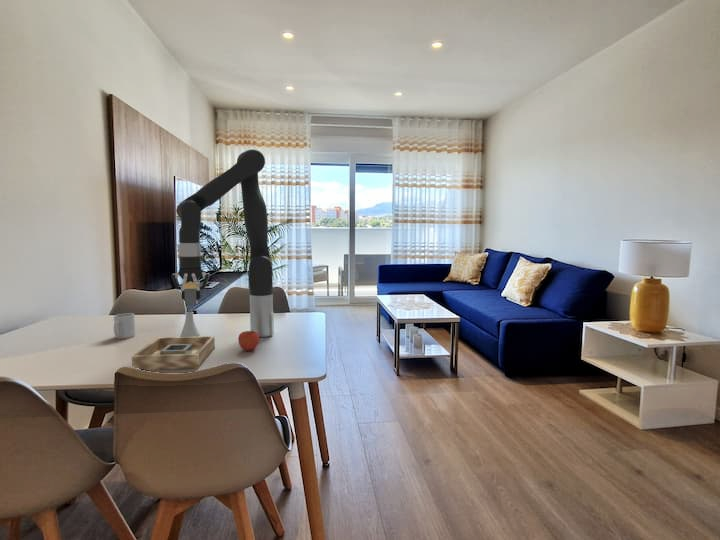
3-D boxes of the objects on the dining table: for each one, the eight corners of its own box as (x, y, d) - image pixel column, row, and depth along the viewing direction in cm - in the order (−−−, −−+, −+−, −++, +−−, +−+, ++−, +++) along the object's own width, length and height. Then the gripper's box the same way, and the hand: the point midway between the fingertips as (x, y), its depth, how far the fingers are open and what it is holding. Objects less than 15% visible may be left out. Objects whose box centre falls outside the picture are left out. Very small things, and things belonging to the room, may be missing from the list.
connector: (199, 302, 158) (198, 281, 157) (197, 304, 154) (196, 283, 153) (186, 302, 157) (185, 281, 156) (183, 304, 153) (183, 283, 152)
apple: (242, 347, 155) (241, 326, 154) (261, 347, 155) (261, 326, 154) (235, 353, 148) (235, 331, 147) (256, 353, 147) (255, 331, 146)
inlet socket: (192, 352, 146) (192, 343, 145) (185, 359, 138) (185, 350, 137) (169, 352, 145) (168, 344, 144) (160, 360, 137) (160, 351, 136)
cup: (139, 334, 171) (138, 313, 170) (124, 341, 161) (123, 318, 160) (122, 334, 171) (121, 313, 170) (106, 340, 161) (105, 318, 160)
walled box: (214, 348, 153) (214, 336, 153) (198, 368, 131) (197, 354, 131) (158, 349, 151) (158, 337, 151) (132, 370, 129) (131, 356, 129)
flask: (192, 339, 165) (191, 314, 164) (176, 338, 166) (175, 313, 165) (203, 334, 172) (202, 311, 171) (187, 333, 173) (186, 310, 172)
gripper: (211, 254, 158) (212, 298, 160) (171, 254, 155) (173, 299, 157) (208, 255, 151) (209, 301, 153) (167, 255, 148) (168, 302, 150)
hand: (191, 300), depth 155 cm, fingers closed on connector, 4 cm apart
